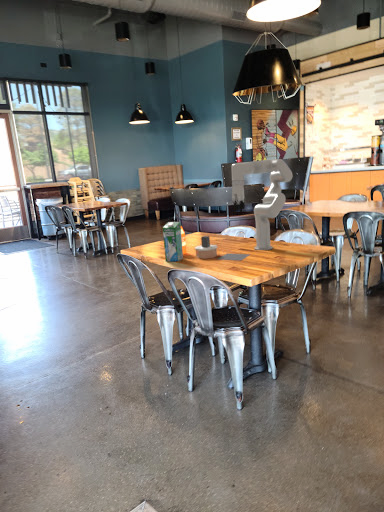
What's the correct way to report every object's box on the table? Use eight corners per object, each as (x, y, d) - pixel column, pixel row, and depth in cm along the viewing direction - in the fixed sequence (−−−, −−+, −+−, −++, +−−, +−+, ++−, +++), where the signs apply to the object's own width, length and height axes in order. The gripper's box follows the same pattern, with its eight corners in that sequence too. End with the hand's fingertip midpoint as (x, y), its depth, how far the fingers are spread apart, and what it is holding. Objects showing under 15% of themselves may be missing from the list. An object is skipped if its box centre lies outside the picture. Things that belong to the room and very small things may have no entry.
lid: (201, 245, 267) (200, 234, 265) (220, 246, 260) (220, 234, 258) (190, 250, 254) (189, 238, 252) (211, 251, 247) (210, 238, 245)
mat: (227, 254, 262) (227, 253, 262) (250, 255, 254) (250, 254, 254) (216, 260, 248) (216, 259, 247) (241, 261, 239) (241, 260, 239)
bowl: (202, 254, 267) (201, 246, 265) (219, 255, 260) (218, 246, 259) (193, 258, 256) (192, 249, 255) (210, 259, 250) (210, 250, 248)
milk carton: (165, 261, 254) (162, 223, 249) (171, 258, 263) (168, 221, 257) (177, 261, 251) (174, 223, 246) (183, 258, 259) (180, 221, 254)
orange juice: (175, 252, 280) (173, 225, 276) (186, 252, 276) (184, 225, 272) (170, 254, 273) (168, 227, 269) (181, 255, 269) (179, 227, 265)
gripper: (237, 182, 255) (238, 208, 259) (227, 184, 241) (228, 211, 244) (248, 182, 252) (249, 208, 255) (238, 183, 237) (239, 211, 241)
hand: (239, 209), depth 250 cm, fingers open, 9 cm apart
